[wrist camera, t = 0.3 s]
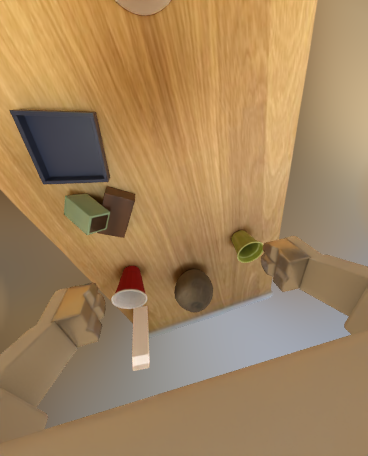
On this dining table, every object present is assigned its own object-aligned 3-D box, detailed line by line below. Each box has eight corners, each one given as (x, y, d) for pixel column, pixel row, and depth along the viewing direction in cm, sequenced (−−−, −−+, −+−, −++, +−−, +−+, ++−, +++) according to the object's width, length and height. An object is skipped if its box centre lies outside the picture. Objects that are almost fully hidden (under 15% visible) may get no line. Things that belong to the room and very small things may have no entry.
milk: (147, 312, 81) (149, 370, 64) (133, 314, 80) (132, 374, 63) (147, 305, 78) (149, 364, 61) (133, 307, 77) (131, 368, 59)
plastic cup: (108, 271, 61) (102, 302, 51) (132, 255, 59) (131, 285, 50) (129, 284, 67) (128, 314, 58) (152, 271, 66) (154, 299, 56)
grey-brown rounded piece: (198, 255, 66) (211, 290, 54) (210, 275, 74) (223, 308, 63) (165, 271, 67) (171, 308, 55) (181, 288, 76) (188, 323, 64)
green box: (113, 200, 46) (108, 220, 38) (109, 216, 49) (104, 238, 41) (70, 189, 42) (54, 209, 35) (68, 207, 45) (54, 229, 37)
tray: (19, 109, 32) (9, 110, 30) (96, 112, 35) (92, 112, 33) (48, 179, 40) (43, 184, 38) (110, 177, 43) (108, 181, 40)
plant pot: (255, 228, 63) (269, 243, 57) (243, 247, 68) (254, 263, 61) (234, 224, 60) (246, 240, 53) (222, 244, 65) (232, 261, 58)
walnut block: (135, 193, 47) (134, 201, 43) (125, 229, 52) (124, 237, 49) (107, 186, 44) (104, 193, 41) (99, 224, 50) (97, 233, 46)
